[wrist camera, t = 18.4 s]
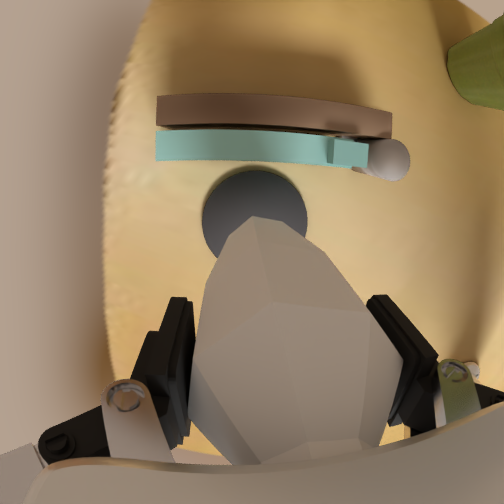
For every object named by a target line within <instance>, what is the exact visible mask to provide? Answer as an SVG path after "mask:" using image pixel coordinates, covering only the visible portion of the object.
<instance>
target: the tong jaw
mask: <svg viewBox="0 0 504 504" xmlns="http://www.w3.org/2000/svg"><path fill="white" fill-rule="evenodd" d="M368 149H369V144H365V143H358V142H354V140H351V139H344V138H337V137H329V136H320V135H311V134H301V133H289V132H275V131H257V130H223V129H201V130H167V131H156V161H175V160H237V161H265V162H284V163H299V164H312V165H323V166H333V167H343V168H352V166H354V167H362V168H367V162H368Z"/></svg>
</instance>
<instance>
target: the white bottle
mask: <svg viewBox="0 0 504 504" xmlns="http://www.w3.org/2000/svg"><path fill="white" fill-rule="evenodd" d="M402 366H403V359H402V357H401V356H400V354H399V353H398V351H397V350H396V348H395V347H394V345H393V344H392V343H391V341H390V340H389V338H388V337H387V335H386V334H385V332H384V331H383V330H382V328H381V327H380V325H379V324H378V322H377V321H376V320H375V318H374V317H373V315H372V314H371V313H370V311H369V310H368V309H367V307H366V306H365V305H364V303H363V302H362V300H361V299H360V298H359V296H358V295H357V294H356V292H355V291H354V290H353V288H352V287H351V286H350V285H349V283H348V282H347V281H346V279H345V278H344V277H343V275H342V274H341V273H340V272H339V270H338V269H337V268H336V266H335V265H334V264H333V263H332V261H331V260H330V259H329V257H328V256H327V255H326V254H325V252H323V251H322V250H321V249H319V248H318V247H317V246H315V245H314V244H313V243H311V242H310V241H308V240H307V239H306V238H304V237H303V236H302V235H300V234H299V233H297V232H296V231H295V230H293V229H292V228H290V227H289V226H288V225H286V224H285V223H283V222H282V221H277V220H271V219H266V218H260V217H255V216H251V217H250V218H249V219H248V220H247V221H246V222H244V223H243V224H242V225H241V226H240V227H238V228H237V229H236V230H235V231H234V232H233V233H231V234H230V235H229V236H228V238H227V240H226V243H225V245H224V247H223V249H222V251H221V253H220V255H219V257H218V259H217V261H216V263H215V265H214V267H213V269H212V271H211V274H210V276H209V278H208V280H207V282H206V285H205V290H204V296H203V301H202V307H201V313H200V319H199V324H198V330H197V336H196V342H195V348H194V355H193V362H192V371H191V381H190V391H189V402H188V417H189V419H190V420H191V421H192V422H193V423H194V424H195V426H196V427H197V428H198V429H199V430H200V431H201V432H202V433H203V435H204V436H205V437H206V438H207V439H208V440H209V441H210V442H211V443H212V444H213V445H214V446H215V448H216V449H217V450H218V451H219V452H220V453H221V454H222V455H223V456H224V457H225V458H226V459H227V460H228V461H229V462H230V463H231V464H232V465H258V464H274V463H286V462H296V461H304V460H312V459H319V458H325V457H331V456H337V455H343V454H348V453H353V452H357V451H362V450H366V449H370V448H374V447H378V446H379V444H380V441H381V438H382V435H383V432H384V429H385V426H386V423H387V420H388V417H389V414H390V411H391V407H392V404H393V401H394V397H395V393H396V390H397V386H398V382H399V378H400V374H401V370H402Z"/></svg>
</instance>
